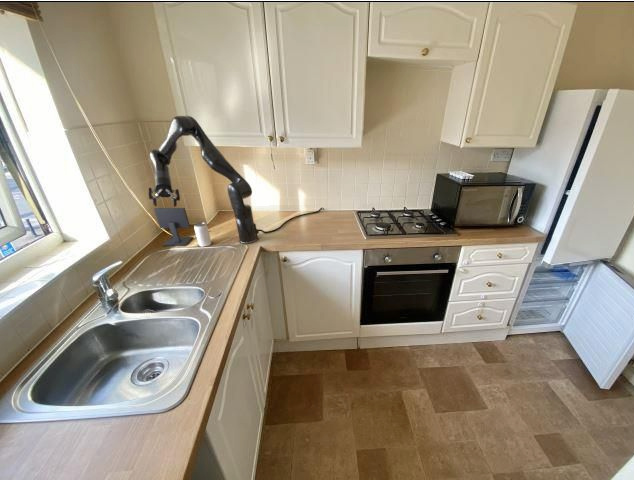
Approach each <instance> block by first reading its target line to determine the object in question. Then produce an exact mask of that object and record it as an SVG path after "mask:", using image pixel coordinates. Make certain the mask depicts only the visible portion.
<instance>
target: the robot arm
mask: <svg viewBox="0 0 634 480" xmlns="http://www.w3.org/2000/svg"><path fill="white" fill-rule="evenodd" d="M189 136H190V137H191V136H192V137H193V138H194V139H195V141H196V142H197V143H198V145H199V150H200V155H201V158H202V160H203V161H204V162H205V164H207V166H208V167H209V168H210V169H211V170H213V171H214V172H216V173H218V174H219V175H221V176H223V177H225V178H226V179H228V180H229V181H230V182H231V183H229V184H228V185H227V196H228V199H229V203H230V206H231V209H232V211H233V214H234V218H235V224H236V229H237V234H238V240H239V242H240V243H241V244H253V243H255V242H256V241H257V240H259V236H258V234H260V232H262V233H263V234H270V233H273V232H276V231H278V230H280V229H281V228H283V226H284V225H286V224H287V223H289V222H290V221H292V220H294V219H296V218H300V217H303V216H307V215H313V214H317V213H319V212H320V211H321V210H325V208H324V207H320V208H319V209H318V210H316V211H310V212H306V213H302V214H299V215H295V216H293V217H291V218H289V219H287V220H286V221H284V222H283V223H282V224H281V225H279V226H278V227H277V228H275V229H272V230H268V231H267V230H265V231H264V229H258V228H257V224H256V223H255V222H254V221H255V220H254V215H253V210H252V206H251V205H250V204H248V203H245V202H244V199H247V198H250V197H251V196H252V194H253V190H252V187H251V184H249V182H248V181H247V180H246V179H245V178H244V177H243V176H242V175H241V174H240V173H239V172H238V171H237V170H236V169H235V168H234V166H233V165H231V163H230V162H229V161H228V160H227V158H226V157H225V156H224V154H222V152H221V151H220V150H219V149H218V147H217V146H216V145H215V144H214V143H213V142H212V140H211V139H210V138H209V137H208V136H207V133H205V131H204V129H203V128H202V126H201V125H200V123H199V122H198V121H197V119H196V118H195V117H193V116H191V115H176V116H174V117H173V118H172V119H171V122H170V124H169V127H168V130H167V133H166V135H165V138H164V139H163V140H162V142H161V143H160V144H159V146H158V149H151V150H150V152H149V160H150V162H151V164H152V167H153V168H154V184H155V185H154V186H155V188H152V187H148V200H152V202H153V206H154V207H158V203H157V200H158V199H159V198H160V197H161V198H170V200H172V202H173V208H176V207H177V205H178V204H177V202H179V201H180V200H181V196H180V191H179V189H178V188H177V189H173V188H172V179H171V175H170V167H169V166H170V165H171V164H170V163H172V160H173V155H174V154H175V152H176V151H177V150H178V148H179V142H178V141H179V139H180V138H181V137H189ZM169 164H170V165H169ZM153 193H155V194H154V195H153ZM175 195H176V196H175ZM322 208H323V209H322Z"/></svg>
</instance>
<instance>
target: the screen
mask: <svg viewBox="0 0 634 480" xmlns="http://www.w3.org/2000/svg"><path fill="white" fill-rule="evenodd" d="M153 211H154V214H155V217H156V220H157V224H158V225H159V228H160V229H170V228H169V225H168V223H169V222H175V224H176V227H177V229H184V228H185V229H190V228H191V224H190V221H189V217H188V215H187V210H186V208H185V207H155V208H153Z"/></svg>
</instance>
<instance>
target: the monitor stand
mask: <svg viewBox="0 0 634 480" xmlns="http://www.w3.org/2000/svg"><path fill="white" fill-rule="evenodd" d="M168 225H169V228H168V229H169V231H170V234H171V236H172V237H171V238H169V239H167V240H166V241H165V242H164V243H163V244H162V246H163V247H186V246H187V245H188V244H189V243H190V242H191V241H192V240H193V239H194V236H180V234H179V231H178V230H179V229H178V228H177V227H176V224H175V222H169V223H168Z"/></svg>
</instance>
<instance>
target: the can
mask: <svg viewBox="0 0 634 480" xmlns="http://www.w3.org/2000/svg"><path fill="white" fill-rule="evenodd" d="M193 226H194V227H193V230H194V232H195V236H196V239H197V243H198V246H199V247H202V248H203V247H209V246H211V245H212V239H211V235H210V232H209V228H208V225H207V224H206V222H203V221H201V222H196V223H195V224H194V225H193Z"/></svg>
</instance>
